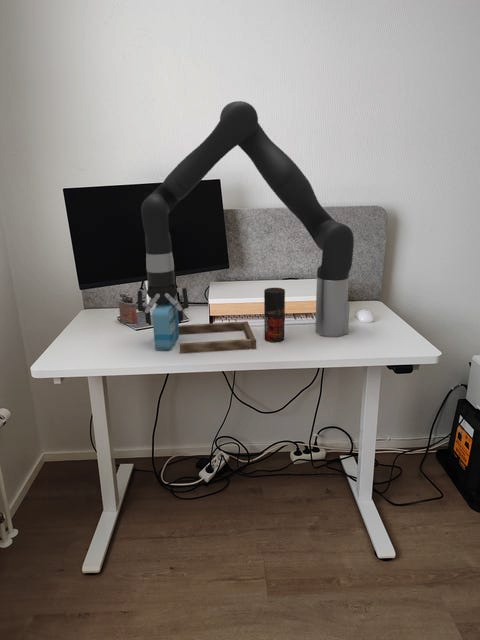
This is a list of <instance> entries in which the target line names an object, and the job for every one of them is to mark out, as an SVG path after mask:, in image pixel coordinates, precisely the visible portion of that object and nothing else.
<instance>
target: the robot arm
mask: <svg viewBox="0 0 480 640" xmlns="http://www.w3.org/2000/svg"><path fill="white" fill-rule="evenodd" d="M237 146H238V147H239V148H240V149H241V151H243V152H244V153H245V154H246V155H247V156H248V158H249V159H250V161H251V162H252V164H253V165H254V167H255V168H256V170H257V171H258V172H259V174H260V175H261V177H262V179H263V180H264V181H265V182H266V184H267V186H268V187H269V188H270V189H271V191H272V192H273V193H274V195H276V197H277V198H278V199H279V200H280V201H281V202H282V203H283V205H284V206H286V208H287V209H288V210H290V212H291V213H292V214H293V215H294V216H295V217H296V218H297V219H298V220H299V221H300V222H301V223H302V225H303V226H304V228H305V230H306V231H307V233H308V234H309V236H310V237H311V238H312V240H313V241H314V243H315V245H316V246H317V247H318V248H319V249H320V250H322V252H321V253H322V256H321V264H320V265H319V266H317V270H316V297H315V298H316V300H315V327H314V328H315V329H314V330H315V332H314V333H316V334H318V335H319V336H321V337H329V338H332V337H333V338H335V337H341V336H343V335H349V326H350V325H349V323H350V303H349V302H348V295H349V277H350V276H349V275H350V271H351V269H352V266H353V256H354V244H355V239H354V238H355V237H354V234H353V231H352V229H351V228H350V227H349V226H348V225H347V224H345V223H341V222H338V221H336V220H335V219H334V218H333V217H332V216H331V214H329V213H328V212H327V211H326V210H325V208H324V207H323V206H322V204H321V203H320V202H319V200H318V198H317V195H316V194H315V192H314V189H313V187H312V184H311V183H310V181H309V179H308V178H307V177H306V175H305V174H304V173H303V171H302V170H301V169H300V167H299V166H298V165H297V164H296V162H295V161H293V159H291V157H290V156H289V155H288V154H287V153H285V152H284V151H283V150H282V149H281V148H280V147H279V146H278V145H276V144H275V142H273V140H271V139H270V137H269V136H268V135H267V133H266V132H265V131H264V129H263V127H261V125H260V123H259V116H258V112H257V110H256V109H255V107H254V106H253V104H250V103H248V102H246V101H242V100H237V101H236V100H235V101H232V102H229V103H227V104H226V105H225V106H224V107H223V108H222V109H221V113H220V116H219V121H218V123H217V124H216V125H215V127H214V128H213V130H212V131H211V133H210V134H209V135H208V136H207V137H206V138H205V139H204V140H203V141H202V142H201V143H200V144H199V145H198V146H197V147H196V148H194V149H193V150H192V151H191V152H190V153H189V154H188V155H186V157H184V159H182V160H181V161H180V162H179V163H178V164H177V165H176V166H175V168H173V169H172V170H171V172H170V173H169V174H168V175H167V176H166V177H165V179H164V180H163V182H162V183H161V184H159V186H158V187H157V188H155V189H154V191H153V192H152V193H150V194H149V195H148V196H147V197H146V198H145V199H144V200H143V202H142V203H141V209H140V210H141V211H140V212H141V220H142V226H143V231H144V236H145V237H144V238H145V239H144V242H145V249H146V250H145V252H146V253H145V254H146V257H145V260H146V261H145V262H146V263H145V264H146V266H145V267H146V268H145V269H146V275H147V283H148V284H147V286H148V288H147V289H141V288H139V289H138V290H137V310H138V312H140V313H141V312H142V313H143V314H144V315H145V323H146V324H148V326H152V315H151V310H152V308H153V307H154V305H155V304H156V305H158V304H169V303H170V302H171V303H172V304H173V305H174V306H175V307H176V308H177V309H178V324H181V323H182V322H183V321H184V310H185V309H188V308H189V306H190V305H189V299H188V298H189V297H188V291H187V286H186V285H183V286H182V287H178V288H177V286H176V279H175V278H176V277H175V263H174V256H173V250H172V249H173V247H172V239H171V233H170V232H169V231H170V230H169V229H170V228H169V227H170V225H169V214H170V212H171V211H172V210H173V209H174V208H175V207H176V206H177V204H179V202H180V201H181V200H183V199H184V198H185V197H187V196H188V195H189V193H191V192H192V191H193V189H194V188H195V187H196V186H197V185H198V184H199V183H200V182H201V181H202V180H203V179H204V178H205V177H206V175H208V173H209V172H210V171H211V170H212V169H213V168H214V166H216V164H218V163H219V162H220V161H221V160H222V159H223V158H224V157H225V156H226V155H227V154H228V153H230V151H231V150H233V149H234V148H236V147H237ZM177 293H179V295H180V296H182V300H183V303H182V304H181V302H180V301H178V299H177V297H176V296H177ZM146 295H147V296H148V297H149V298H150V300H149V301H148V303H147V304H146V306H143V305H144V304H143V303H144V302H143V301H144V298H145V297H146Z"/></svg>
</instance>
